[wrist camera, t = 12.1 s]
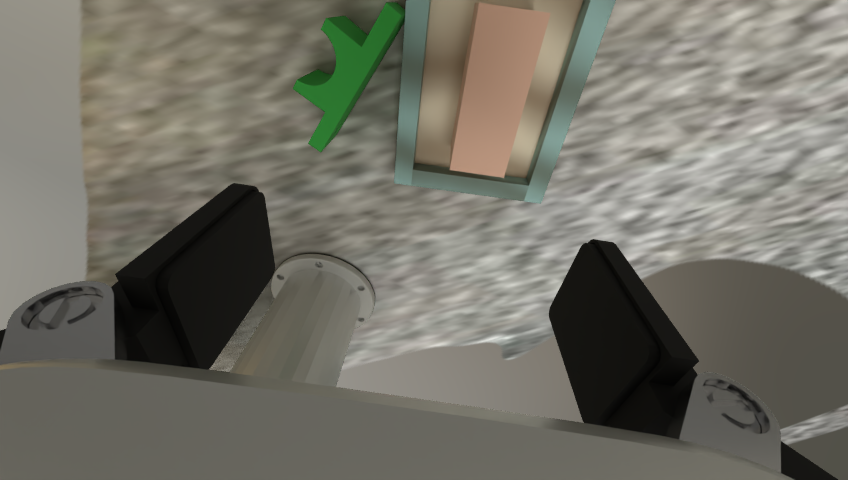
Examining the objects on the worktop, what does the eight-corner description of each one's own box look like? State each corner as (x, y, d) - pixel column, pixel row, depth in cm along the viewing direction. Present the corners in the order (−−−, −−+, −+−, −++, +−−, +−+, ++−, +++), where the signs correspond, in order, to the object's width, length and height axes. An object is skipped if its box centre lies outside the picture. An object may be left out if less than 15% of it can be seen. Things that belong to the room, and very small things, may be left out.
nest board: (535, 190, 31) (540, 203, 29) (398, 171, 31) (394, 183, 29) (618, -47, 21) (634, -53, 19) (415, -76, 21) (411, -84, 19)
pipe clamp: (366, -26, 23) (349, -32, 19) (409, 13, 24) (402, 15, 20) (299, 107, 28) (275, 122, 25) (337, 134, 30) (320, 153, 26)
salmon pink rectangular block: (533, 11, 22) (550, 12, 18) (496, 152, 28) (503, 177, 24) (475, 2, 22) (479, 2, 18) (450, 145, 28) (449, 170, 24)
